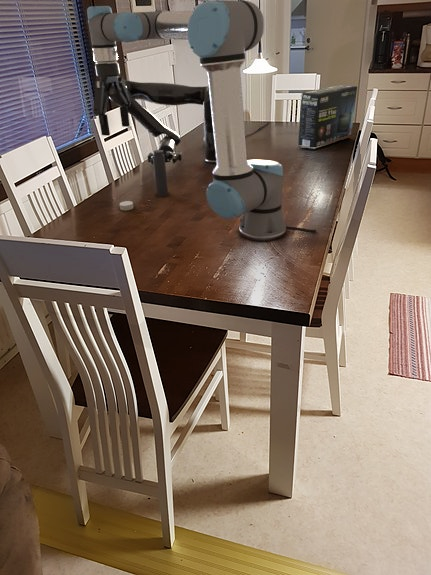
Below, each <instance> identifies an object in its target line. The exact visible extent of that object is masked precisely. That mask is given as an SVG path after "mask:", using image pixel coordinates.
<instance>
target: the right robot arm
mask: <svg viewBox="0 0 431 575" xmlns="http://www.w3.org/2000/svg"><path fill="white" fill-rule="evenodd" d="M86 14H87V24H88V30H89V36H90V41H91V48H92V49H91V50H92V56H93V61H94V62H95V64H94V65H95V66H94V67H95V74H96V76H97V77H99V78H100V80H97V81H96V80H95V81H94V100H93V111H92V112H93V114H94V115H95V116H98V121H99V126H100V131H101V136H106V137H107V136H109V137H110V136H111V132H110V125H109V120H108V114H106V112H107V109H108V104H109V99H110V98H109V97H110V96H111V94H114V95H115V97H116V99H117V100H118V102H119V103H120V105H121V106H122V107H120V106H119V113H120V119H121V120H120V121H121V127H125V128H130V127H131V124H130V117H129V116H130V114H129V113H128V107H130V103H131V101H130V98H129V96H128V93H127V91H126V88H125V85H124V82H123V80H124V76H122V75H121V71H120V64H119V62H118V61H119V58H118V57H119V56H118V50H117V42H119V43H121V42H122V43H134V42H137V41H147V40H148V41H149V40H175V41H176V40H178V41H179V40H180V41H181V40H182V41H187V42H188V45H189V47H190V49H191V50H192V52H193V54H195V55H196V56H197V57H199V65H200V66H201V67H202V69H203V70H204V71H205V72H206V75H207V84H208V85H207V86H209V95H210V104H211V114H212V123H213V133H214V142H215V152H216V161H217V163H216V165H215V167H214V168H213V170H212V171H211V173H212V182H211V183H209V184H208V187H207V188H206V191H205V193H206V200H207V203H208V206H209V207H210V209H211V210H212V211H213V212H214V213H215V215H217V217H219V218H221V219H225V220H232V219H235V218H239V217H241V218H240V220H239V226H238V232H239V235H240V236H241V237H242V238H244V239H247V240H250V241H254V242H271V241H277V240H279V239H281V238H283V237H285V235H286V234H287V230H288V231H289V230H291V231H297V232H303V233H304V232H305V233H310V234H311V233H313V234H315V233H317V229H310V228H303V227H298V226H288V225H287V223H286V221H285V216H284V214H283V210H282V200H283V183H284V180H283V179H284V169H283V165H282V164H281V163H280V162H278V161H274V160H270V159H248V155H247V141H246V140H247V139H246V137H245V135H246V127H245V113H244V100H243V99H244V98H243V90H242V89H243V87H242V76H241V68H242V66H243V64H244V63H245V61H246V52H248V51H250V50H252V49H254V48H255V47H256V46H257V45H258V44H259V43H260V42H261V40H262V38H263V36H264V32H265V28H266V27H265V17H264V15H263V12H262V10H261V9H260V8H259V6H258V5H256V4H255V3H254V2H252V1H249V0H209V1H204V2H201V3H200V4H198V5H197V6H196V7H195V8H194V10H165V11H163V10H155V11H133V12H132V11H131V12H130V11H125V12H124V11H121V12H114V13H113V9H112V7H111V6H109V5H97V6H89V7H88V8H87V9H86ZM126 99H127V100H126Z"/></svg>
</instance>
